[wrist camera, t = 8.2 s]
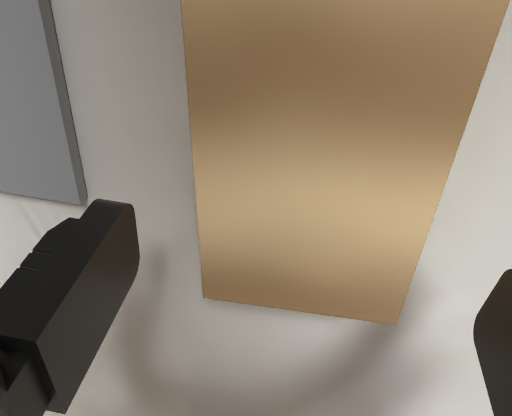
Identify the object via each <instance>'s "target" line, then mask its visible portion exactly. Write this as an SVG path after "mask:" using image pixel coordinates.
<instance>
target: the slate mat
mask: <svg viewBox="0 0 512 416" xmlns="http://www.w3.org/2000/svg"><path fill="white" fill-rule="evenodd" d="M0 192H5V193H11V194H17V195H23V196H29V197H35V198H41V199H47V200H52V201H58V202H64V203H70V204H76V205H81V204H82V203H83V201H84V200H85V199H86V198H87V193H86V188H85V182H84V177H83V172H82V167H81V162H80V157H79V151H78V146H77V141H76V136H75V131H74V125H73V120H72V115H71V110H70V105H69V100H68V94H67V89H66V84H65V79H64V74H63V69H62V63H61V58H60V53H59V48H58V43H57V37H56V32H55V27H54V22H53V17H52V12H51V6H50V1H49V0H0Z"/></svg>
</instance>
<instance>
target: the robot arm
mask: <svg viewBox="0 0 512 416" xmlns="http://www.w3.org/2000/svg"><path fill="white" fill-rule="evenodd" d="M139 259H140V253H139V244H138V236H137V228H136V220H135V212H134V208H133V206H132V205H131V204H127V203H121V202H115V201H109V200H103V199H96V200H94V201H93V202H92V203H91V204H90V206H89V207H88V208H87V210H86V211H85V212H84V214H83V215H82V216H81V218H80V219H75V218H68V219H66V220H65V221H63V222H61V223H60V224H58V225H57V226H55V227H54V228H52V229H50V230H49V231H47V233H46V234H45V235H44V236H43V237H42V239H41V240H40V241H39V242H38V244H37V245H36V246H35V247H34V248H33V252H32V253H29V254H28V256H27V257H26V258H25V259H24V261H23V262H22V263H21V264H20V268H19V269H18V268H17V269H16V270H15V271H14V273H13V274H12V275H11V276H10V278H9V279H8V280H7V281H6V282H5V284H4V285H3V286H2V287H1V288H0V416H43V414H44V412H45V410H47V411H52V412H57V413H62V414H66V412H67V410H68V408H69V406H70V404H71V402H72V400H73V398H74V396H75V394H76V392H77V390H78V388H79V386H80V384H81V382H82V380H83V379H84V377H85V375H86V373H87V371H88V369H89V367H90V365H91V363H92V361H93V359H94V357H95V355H96V353H97V351H98V349H99V347H100V346H101V344H102V342H103V340H104V338H105V336H106V334H107V332H108V330H109V328H110V326H111V324H112V322H113V320H114V318H115V316H116V314H117V312H118V311H119V309H120V307H121V305H122V303H123V301H124V299H125V297H126V295H127V293H128V291H129V289H130V287H131V285H132V283H133V281H134V279H135V277H136V274H137V271H138V266H139ZM473 335H474V343H475V347H476V351H477V355H478V358H479V362H480V366H481V369H482V373H483V377H484V380H485V384H486V388H487V391H488V395H489V399H490V403H491V406H492V410H493V414H494V416H512V269H509V270H507V271H505V272H504V273H503V275H502V276H501V278H500V279H499V281H498V282H497V284H496V286H495V287H494V289H493V290H492V292H491V293H490V295H489V297H488V298H487V300H486V301H485V303H484V304H483V306H482V308H481V309H480V311H479V312H478V314H477V316H476V319H475V323H474V331H473Z"/></svg>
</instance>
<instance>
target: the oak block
mask: <svg viewBox="0 0 512 416" xmlns="http://www.w3.org/2000/svg"><path fill="white" fill-rule="evenodd" d="M509 1H510V0H181V11H182V24H183V37H184V50H185V64H186V77H187V90H188V103H189V116H190V130H191V143H192V156H193V169H194V183H195V196H196V209H197V222H198V236H199V249H200V262H201V275H202V288H203V298H209V299H216V300H223V301H230V302H237V303H244V304H251V305H258V306H265V307H272V308H279V309H287V310H294V311H301V312H308V313H315V314H322V315H329V316H336V317H343V318H350V319H357V320H364V321H371V322H378V323H385V324H392V325H396V323H397V320H398V318H399V315H400V312H401V309H402V306H403V303H404V300H405V298H406V295H407V292H408V289H409V286H410V283H411V281H412V278H413V275H414V272H415V269H416V266H417V263H418V261H419V258H420V255H421V252H422V249H423V246H424V243H425V241H426V238H427V235H428V232H429V229H430V226H431V224H432V221H433V218H434V215H435V212H436V209H437V206H438V204H439V201H440V198H441V195H442V192H443V189H444V187H445V184H446V181H447V178H448V175H449V172H450V169H451V167H452V164H453V161H454V158H455V155H456V152H457V149H458V147H459V144H460V141H461V138H462V135H463V132H464V130H465V127H466V124H467V121H468V118H469V115H470V112H471V110H472V107H473V104H474V101H475V98H476V95H477V92H478V90H479V87H480V84H481V81H482V78H483V75H484V73H485V70H486V67H487V64H488V61H489V58H490V55H491V53H492V50H493V47H494V44H495V41H496V38H497V35H498V33H499V30H500V27H501V24H502V21H503V18H504V16H505V13H506V10H507V7H508V4H509Z"/></svg>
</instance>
